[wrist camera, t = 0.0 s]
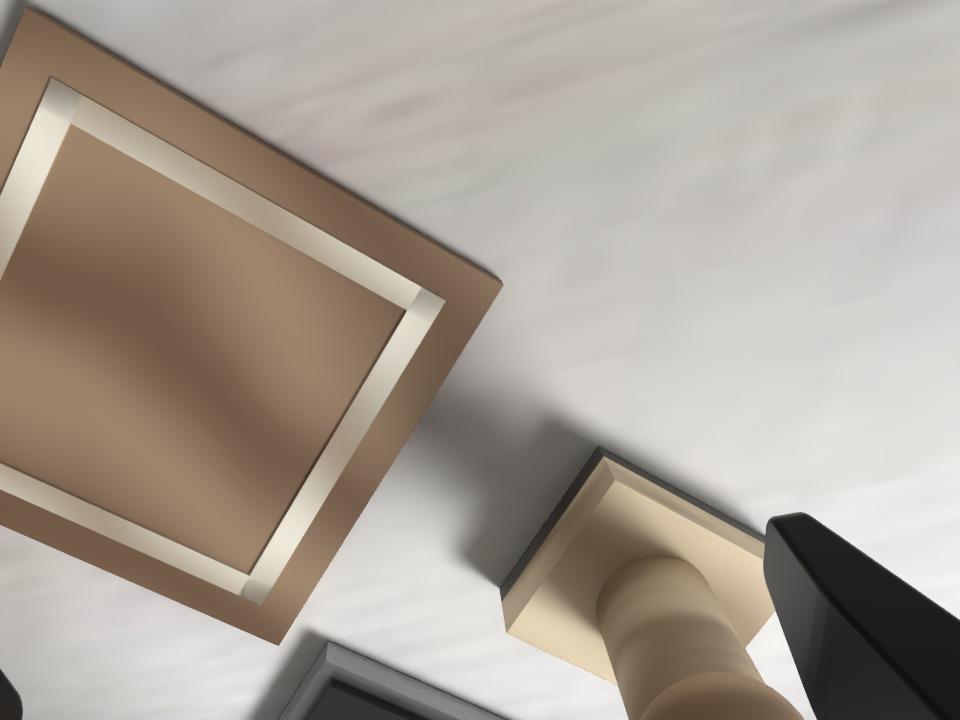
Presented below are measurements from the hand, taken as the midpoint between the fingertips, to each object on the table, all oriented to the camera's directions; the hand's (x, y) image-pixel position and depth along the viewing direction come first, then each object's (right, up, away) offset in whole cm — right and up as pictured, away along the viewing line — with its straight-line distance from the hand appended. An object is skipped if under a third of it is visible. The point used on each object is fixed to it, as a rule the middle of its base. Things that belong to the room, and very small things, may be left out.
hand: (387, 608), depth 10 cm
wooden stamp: (+6, -4, +18) cm, 20 cm away
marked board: (-8, +3, +15) cm, 17 cm away
